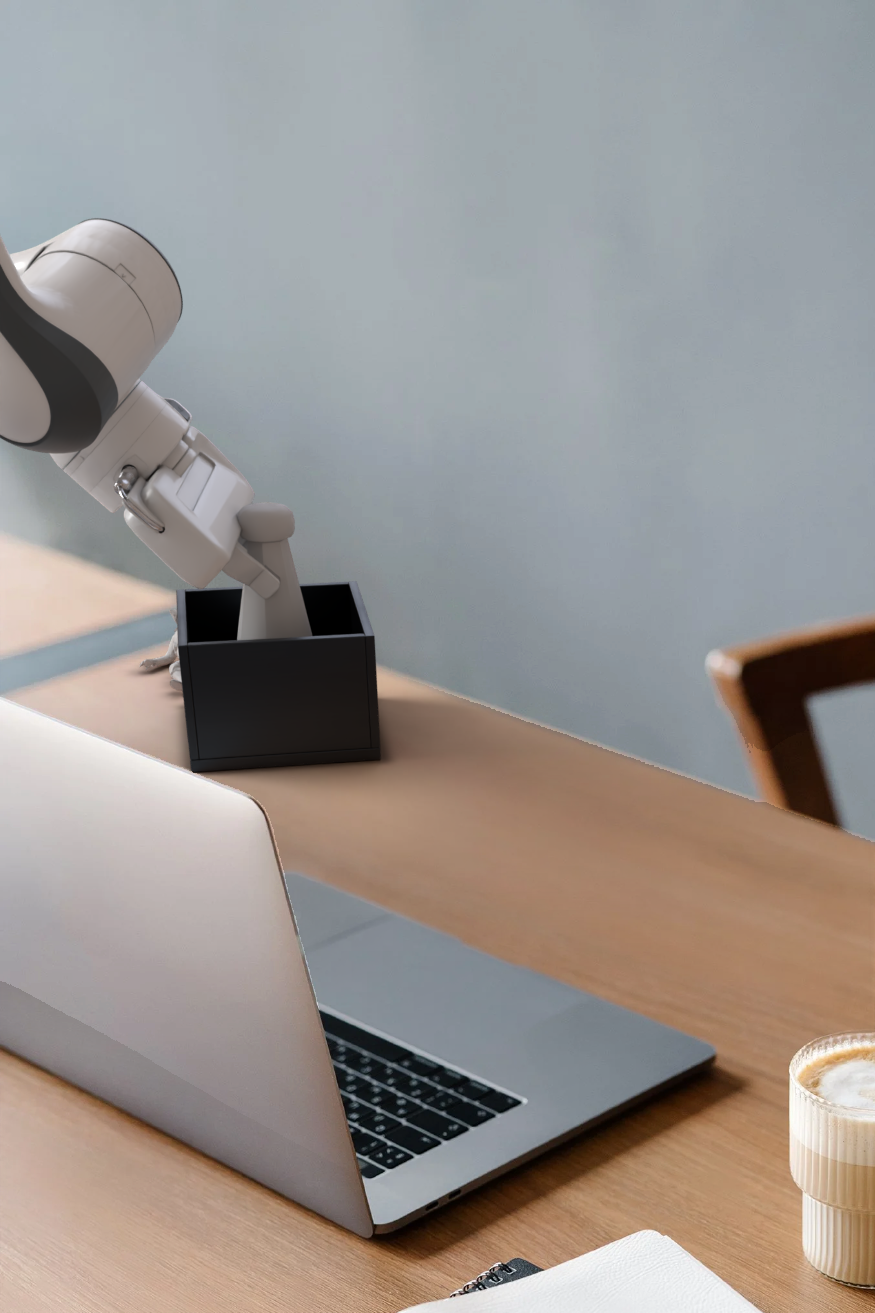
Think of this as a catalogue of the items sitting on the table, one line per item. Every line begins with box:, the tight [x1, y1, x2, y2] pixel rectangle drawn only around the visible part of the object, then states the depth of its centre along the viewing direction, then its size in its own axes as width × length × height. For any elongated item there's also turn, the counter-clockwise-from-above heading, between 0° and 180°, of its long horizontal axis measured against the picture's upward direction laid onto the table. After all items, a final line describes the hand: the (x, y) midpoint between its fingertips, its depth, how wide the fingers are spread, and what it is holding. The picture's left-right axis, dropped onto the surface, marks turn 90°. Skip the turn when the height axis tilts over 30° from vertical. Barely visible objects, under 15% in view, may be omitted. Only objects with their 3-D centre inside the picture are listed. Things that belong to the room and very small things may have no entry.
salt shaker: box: [237, 501, 312, 640], centre depth 139 cm, size 6×6×13 cm
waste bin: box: [175, 580, 382, 773], centre depth 142 cm, size 14×14×10 cm
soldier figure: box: [138, 608, 183, 692], centre depth 156 cm, size 8×5×12 cm
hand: (277, 582), depth 139 cm, fingers closed on salt shaker, 3 cm apart
